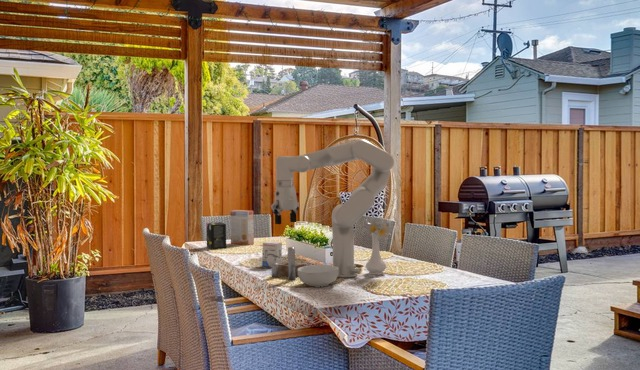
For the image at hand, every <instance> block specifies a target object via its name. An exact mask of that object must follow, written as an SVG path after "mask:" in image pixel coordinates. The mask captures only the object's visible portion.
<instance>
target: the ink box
mask: <svg viewBox="0 0 640 370" xmlns="http://www.w3.org/2000/svg"><path fill="white" fill-rule="evenodd" d="M282 243H283V242H282V241H274V240H273V241H272V240H271V241H270V240H267V241H264V242H262V247H261V248H262V251H261V252H262V255H261V256H262V263H261V264H262V267H268V268H271V264H272V263H278V264H279V263H283V262H282V260H283V256H282V254H283V251H282V249H283V247H282V246H283V245H282Z"/></svg>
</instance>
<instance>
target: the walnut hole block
mask: <svg viewBox="0 0 640 370" xmlns="http://www.w3.org/2000/svg"><path fill="white" fill-rule="evenodd" d="M304 266H305V263H301V262H300V263H299V262H295V278H297V277H296V276H298V268H300V267H304ZM284 276H286V277H285V278H288V261H284V262H282V263H279V264H278V277H284Z"/></svg>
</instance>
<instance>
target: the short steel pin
mask: <svg viewBox="0 0 640 370" xmlns="http://www.w3.org/2000/svg"><path fill="white" fill-rule="evenodd" d="M270 268H271V269H270V270H271V278H272V277H278V278H279V276H278V263H272V264H271V267H270Z"/></svg>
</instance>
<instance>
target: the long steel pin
mask: <svg viewBox="0 0 640 370" xmlns="http://www.w3.org/2000/svg"><path fill="white" fill-rule="evenodd" d="M287 262H288V277H287V278H288V279H287V280H288V281H289V280H294V281H296V277H295V263H296V247H295V246H288V247H287Z"/></svg>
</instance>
